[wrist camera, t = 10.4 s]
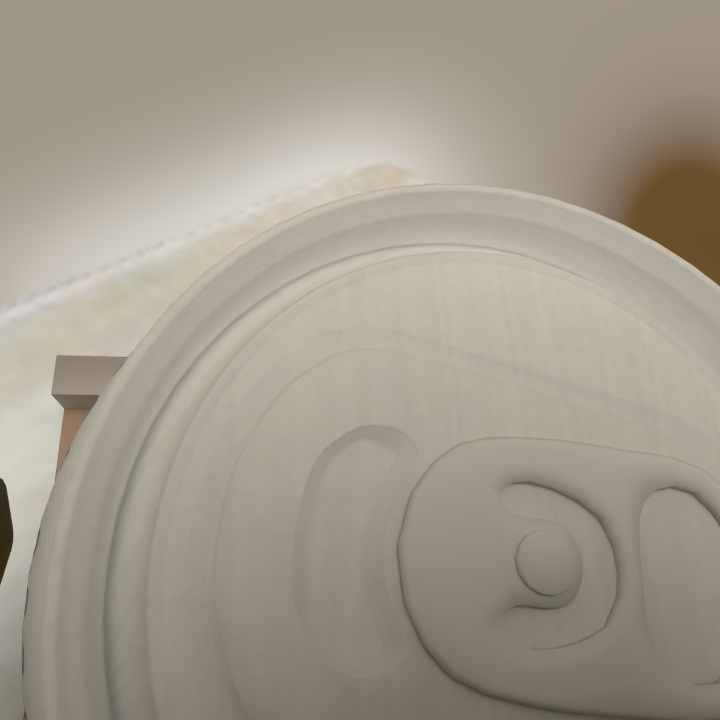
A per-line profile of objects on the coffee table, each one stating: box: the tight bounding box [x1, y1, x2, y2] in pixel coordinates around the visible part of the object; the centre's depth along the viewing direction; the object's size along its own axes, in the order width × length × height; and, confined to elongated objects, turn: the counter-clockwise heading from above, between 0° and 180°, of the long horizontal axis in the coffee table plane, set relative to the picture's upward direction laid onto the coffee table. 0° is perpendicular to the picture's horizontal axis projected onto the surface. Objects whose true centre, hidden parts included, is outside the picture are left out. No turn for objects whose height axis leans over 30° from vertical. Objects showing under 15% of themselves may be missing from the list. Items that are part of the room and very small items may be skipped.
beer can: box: [22, 184, 720, 720], centre depth 10 cm, size 6×6×15 cm
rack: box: [23, 355, 128, 720], centre depth 15 cm, size 12×12×4 cm
